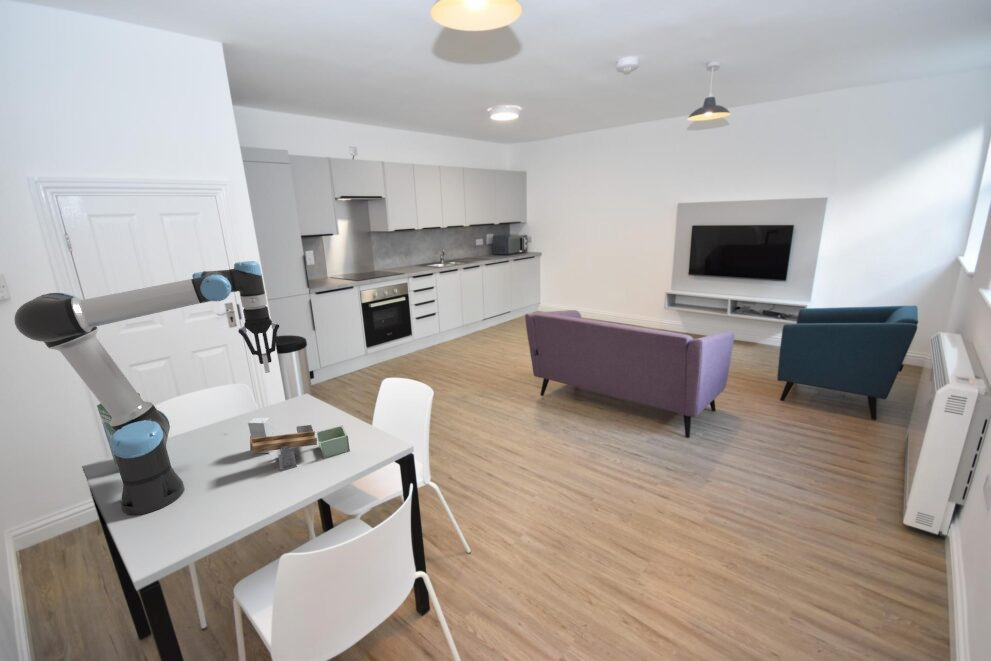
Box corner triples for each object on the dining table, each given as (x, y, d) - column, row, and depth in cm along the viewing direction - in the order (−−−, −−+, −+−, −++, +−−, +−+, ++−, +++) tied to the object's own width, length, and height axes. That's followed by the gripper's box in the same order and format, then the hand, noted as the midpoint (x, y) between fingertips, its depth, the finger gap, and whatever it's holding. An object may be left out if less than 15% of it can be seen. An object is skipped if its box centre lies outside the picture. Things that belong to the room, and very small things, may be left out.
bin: (323, 458, 150) (320, 443, 148) (319, 446, 158) (316, 431, 156) (349, 450, 154) (347, 435, 153) (344, 439, 162) (342, 425, 161)
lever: (250, 453, 140) (250, 443, 139) (249, 434, 152) (249, 425, 152) (316, 444, 150) (316, 435, 149) (311, 427, 162) (311, 418, 162)
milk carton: (114, 464, 152) (94, 398, 145) (144, 451, 160) (126, 389, 153) (127, 470, 148) (107, 403, 141) (157, 457, 155) (139, 393, 149)
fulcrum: (280, 471, 143) (276, 449, 141) (278, 457, 152) (274, 436, 150) (296, 466, 146) (292, 445, 144) (293, 452, 155) (290, 432, 152)
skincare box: (276, 447, 159) (270, 417, 156) (269, 453, 155) (263, 423, 152) (261, 446, 160) (255, 417, 156) (253, 453, 155) (247, 422, 152)
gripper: (232, 311, 142) (246, 378, 148) (276, 306, 148) (288, 370, 154) (233, 307, 148) (246, 372, 155) (275, 302, 154) (286, 365, 161)
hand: (267, 371), depth 155 cm, fingers closed
